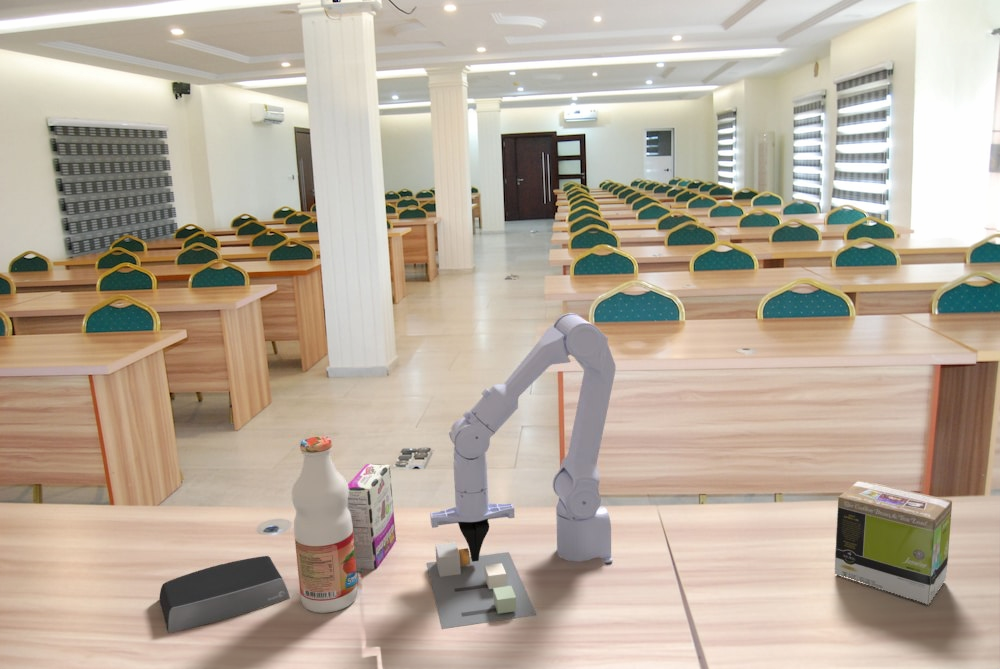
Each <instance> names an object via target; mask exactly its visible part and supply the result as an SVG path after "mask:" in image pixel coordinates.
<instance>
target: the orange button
mask: <svg viewBox="0 0 1000 669" xmlns="http://www.w3.org/2000/svg"><path fill="white" fill-rule="evenodd" d="M458 551H459V554H460V566H463V565H470V557H471V555H470V550H469V547H467V548H466V547H465V548H460V549H459V548H458Z"/></svg>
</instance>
